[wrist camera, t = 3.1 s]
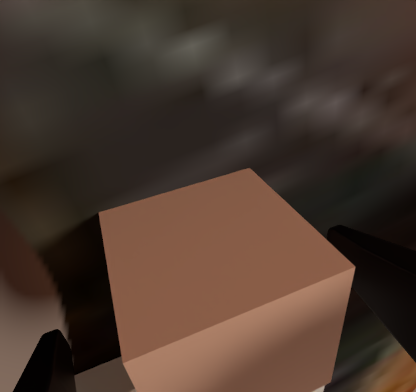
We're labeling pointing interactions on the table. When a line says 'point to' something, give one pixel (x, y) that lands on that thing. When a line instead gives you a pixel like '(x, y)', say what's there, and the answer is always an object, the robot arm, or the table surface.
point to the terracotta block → (224, 290)
